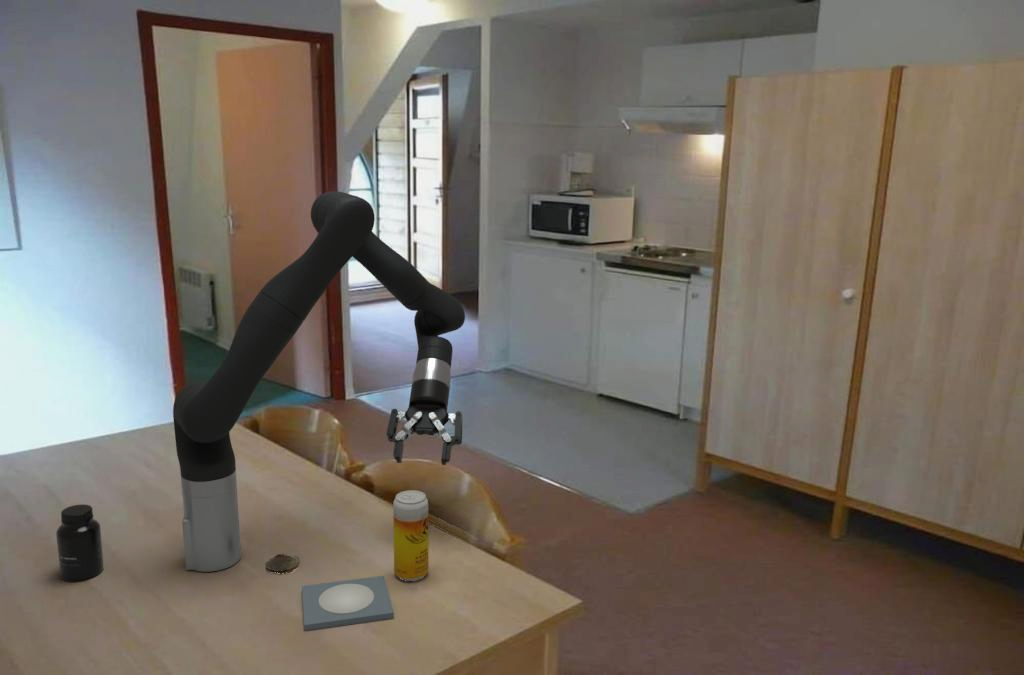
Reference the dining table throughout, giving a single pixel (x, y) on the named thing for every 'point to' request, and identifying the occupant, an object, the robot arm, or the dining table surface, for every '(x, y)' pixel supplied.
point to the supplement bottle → (79, 544)
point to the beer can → (410, 535)
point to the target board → (346, 602)
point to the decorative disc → (282, 564)
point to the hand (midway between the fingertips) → (421, 462)
